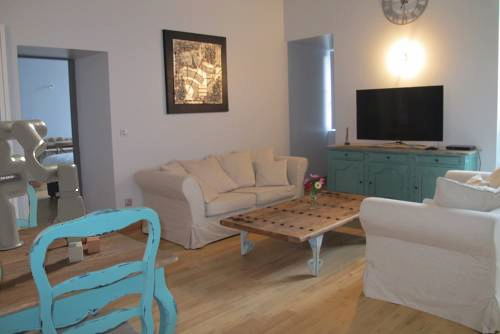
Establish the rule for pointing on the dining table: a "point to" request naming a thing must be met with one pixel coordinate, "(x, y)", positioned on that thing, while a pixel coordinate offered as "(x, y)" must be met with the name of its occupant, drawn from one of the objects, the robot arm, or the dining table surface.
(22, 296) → the dining table surface
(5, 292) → the dining table surface
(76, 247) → the cream brick
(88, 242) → the terracotta brick
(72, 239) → the sage brick
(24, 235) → the dining table surface
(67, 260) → the build mat
